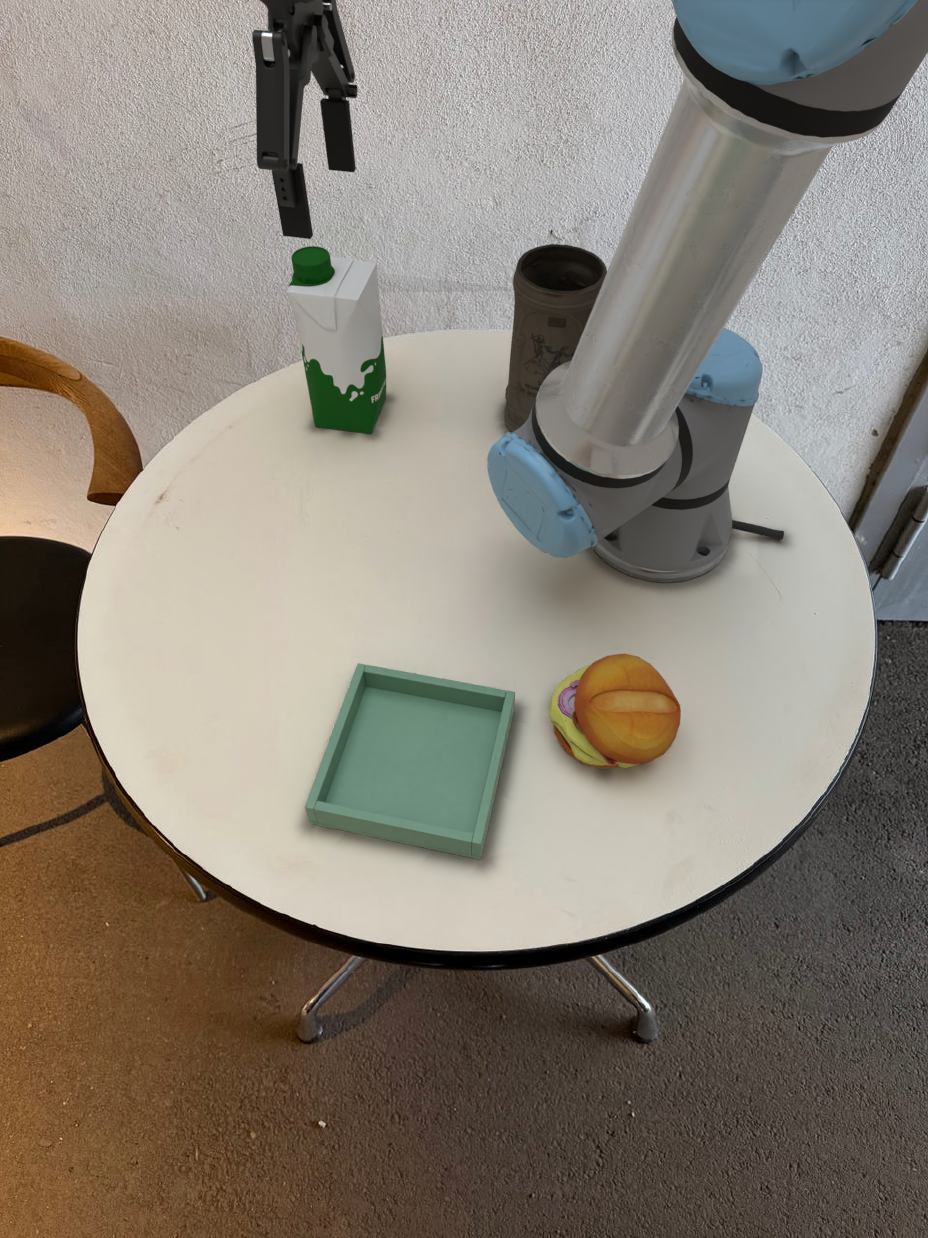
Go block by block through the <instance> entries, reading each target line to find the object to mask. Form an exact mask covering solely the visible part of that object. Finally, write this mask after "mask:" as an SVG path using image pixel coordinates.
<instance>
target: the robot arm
mask: <svg viewBox="0 0 928 1238" xmlns="http://www.w3.org/2000/svg"><path fill="white" fill-rule="evenodd" d="M259 2H261V3H262V4H263V5H264V6H265V8H266V9H267V30H265V29H264V30H263V29H254V30H253V31H252V35H251V37H252V38H251V39H252V47H253V48H252V49H253V54H254V55H253V56H254V62H255V110H256V111H255V117H256V118H255V119H256V120H255V123H256V126H255V127H256V128H255V130H256V132H255V133H256V165H257V168H258V169H259V170H267V171H269V170H270V171H271V175H272V181H273V186H274V192H275V199H276V203H277V204H276V205H277V209H278V215H279V220H280V221H279V222H280V227H281V232H282V236H283V237H289V238H298V239H305V240H311V239H312V238H313V236H314V232H313V225H312V219H311V210H310V205H309V197H308V192H307V185H306V177H305V170H304V165H303V163H302V162H301V163H300V162H298V161H299V160H298V159H299V148H300V139H301V127H302V126H301V125H302V117H303V116H302V115H303V103H304V91H305V87H306V86H308V85H309V84H310V82H311V76H312V75H313V77H314V79H315V81H316V83H317V84H318V86H319V88H320V91H321V92H322V94H323V96H326V97H328V98H325V97H322V98H321V99H320V101H319V104H320V113H321V120H322V121H321V122H322V129H323V137H324V144H325V153H326V159H327V167H328V171H337V172H346V173H355V171H356V170H357V168H356V167H357V166H356V158H355V156H356V155H355V148H354V138H353V137H354V136H353V127H352V119H351V118H352V117H351V109H350V101H349V100H348V98H349V99H357V98H358V94H359V93H358V90H359V89H358V85H357V84H354V83H355V79H356V73H355V68H354V65H353V61H352V58H351V54H350V50H349V47H348V42H347V39H346V35H345V32H344V28H343V25H342V21H341V17H340V13H339V10H338V4H337V0H259ZM671 3H672V8H673V10H674V13H675V16H676V17H675V20H674V22H673V25H672V29H671V34H670V36H671V48H672V51H673V54H674V58H675V59H676V61H677V64H678V66H679V68H680V70H681V73H682V75H683V77H684V78H683V81H682V83H681V85H680V89H679V91H678V94H677V95H676V98H675V101H674V104H673V106H672V108H671V111H670V114H669V116H668V119H667V121H666V123H665V126H664V129H663V132H662V134H661V136H660V139H659V141H658V143H657V146H656V149H655V151H654V153H653V156H652V159H651V161H650V163H649V165H648V168H647V171H646V173H645V176H644V178H643V181H642V184H641V186H640V189H639V191H638V193H637V196H636V199H635V201H634V203H633V206H632V208H631V211H630V214H629V216H628V219H627V221H626V224H625V226H624V229H623V231H622V234H621V236H620V238H619V241H618V243H617V246H616V248H615V251H614V253H613V256H612V259H611V261H610V263H609V266H608V269H607V273H606V276H605V278H604V281H603V283H602V286H601V288H600V291H599V293H598V296H597V298H596V301H595V303H594V306H593V308H592V311H591V313H590V316H589V318H588V321H587V323H586V326H585V328H584V331H583V333H582V336H581V338H580V341H579V343H578V346H577V348H576V351H575V353H574V356H573V358H572V361H569V362H566V363H564V364H562V365H560V366H558V367H557V368H556V369H554V370H553V371H552V372H551V373H550V374H549V375H548V376H547V377H546V379H545V380H544V382H543V383H542V385H541V386H540V388H539V391H538V394H537V396H536V399H535V402H534V404H533V407H532V410H531V412H530V415H529V418H528V419H527V421H526V422H525V423H524V424H523V425H522V426H521V427H520V428H519V429H517V430H515V431H514V432H511V431H508V432H506V433H504V434H502V436H501V438H499V439H498V440H497V441H495V443H493V444H492V445H491V447H490V448H489V451H488V454H487V459H486V460H487V462H486V463H487V475H488V480H489V483H490V485H491V488H492V491H493V493H494V495H495V497H496V500H497V502H498V504H499V505H500V508H501V510H502V511H503V512H504V514H505V516H506V518H507V519H508V520H509V521H510V523H511V524H512V525H513V526H514V528H515V529H516V530H517V531H518V532H519V533H520V534H521V535H522V537H523V538H524V539H525V540H526V541H527V542H529V544H531V545H532V546H533V547H535V548H536V549H538V550H539V551H541V552H542V553H544V554H548V555H550V556H552V557H555V558H559V559H567V558H568V559H569V558H573V557H574V556H576V555H578V554H580V553H582V552H584V551H586V550H588V549H590V548H592V549H593V550H594V551H595V553H596V554H597V555H598V556H599V557H600V558H601V559H602V560H603V561H604V562H606V563H607V564H608V565H609V566H611V567H613V569H616V570H617V571H620V572H621V573H623V574H626V575H628V576H631V577H633V578H637V579H640V580H644V581H650V582H656V583H657V582H658V583H674V582H682V581H687V580H692V579H694V578H697V577H700V576H702V575H704V574H706V573H708V572H709V571H711V570H712V569H713V568H715V567H716V566H717V565H718V564H719V563H720V561H722V559H723V557H724V556H725V555H726V552H727V550H728V546H729V544H730V541H731V539H732V538H731V537H732V535H733V530H736V531H741V532H746V533H750V534H753V535H759V536H763V537H766V538H771V539H776V540H783V539H784V538H785V531H784V530H779V529H775V528H770V527H766V526H763V525H758V524H753V523H751V522H750V523H749V522H746V521H745V522H744V521H740V520H735V519H733V515H732V514H733V513H732V507H731V496H730V489H729V485H730V481H731V478H732V475H733V472H734V469H735V467H736V463H737V460H738V457H739V454H740V451H741V449H742V445H743V441H744V439H745V435H746V432H747V429H748V426H749V423H750V420H751V417H752V414H753V411H754V407H755V404H757V402H758V400H759V397H760V393H759V389H760V386H761V385H760V384H761V381H762V377H763V372H764V371H763V363H762V361H761V359H760V355H759V353H758V351H757V350H756V349H755V348H754V346H753V345H752V344H751V343H750V342H749V341H748V340H746V338H744V337H743V336H741V335H740V334H738V333H736V332H734V331H732V330H731V329H729V328H726V326H727V325H728V322H729V320H730V319H731V318H732V315H733V314H734V312H735V311H736V309H737V308H738V305H739V304H740V302H741V300H742V299H743V297H744V296H745V294H746V293H747V290H748V289H749V287H750V286H751V284H752V283H753V281H754V279H755V277H756V276H757V273H758V272H759V271H760V269H761V267H762V266H763V264H764V262H765V261H766V259H767V258H768V255H769V253H770V252H771V250H772V249H773V248H774V246H775V244H776V242H777V240H778V238H779V237H780V236H781V233H782V232H783V230H784V229H785V228H786V225H787V223H788V222H789V220H790V219H791V217H792V215H793V213H794V212H795V210H796V209H797V207H798V206H799V204H800V202H801V201H802V199H803V196H804V195H805V194H806V192H807V190H808V189H809V188H810V185H812V184H811V183H812V182H813V180H814V178H815V177H816V175H817V174H818V172H819V170H820V169H821V167H822V166H823V163H824V162H825V160H826V159H827V157H828V155H829V153H830V152H831V150H832V148H833V147H834V146H837V145H842V144H845V143H849V142H853V141H857V140H859V139H862V138H864V137H866V136H869V135H870V134H871V133H873V132H876V130H877V129H878V128H879V127H880V126H881V125H882V124H883V122H884V121H885V119H886V118H887V117H888V115H889V114H890V113H891V111H892V110H893V108H894V107H895V105H896V104H897V102H898V100H899V99H900V97H901V96H902V94H903V93H904V91H905V89H906V88H907V86H908V85H909V83H910V82H911V80H912V78H914V77H913V76H914V75H915V74H916V72H917V70H918V69H919V67H920V65H921V64H922V63H923V61H924V59H925V58H926V56H927V55H928V0H671Z"/></svg>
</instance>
